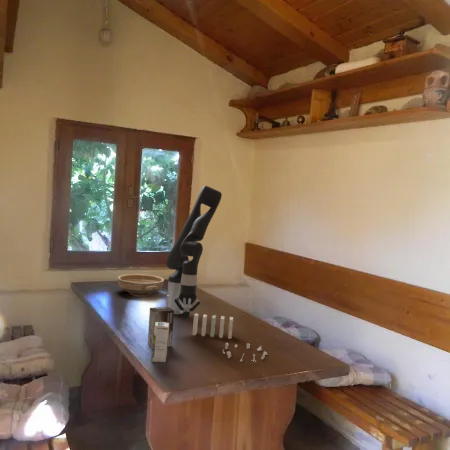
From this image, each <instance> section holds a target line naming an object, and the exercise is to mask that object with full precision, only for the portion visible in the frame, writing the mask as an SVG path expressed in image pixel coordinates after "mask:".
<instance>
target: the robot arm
mask: <svg viewBox="0 0 450 450" xmlns="http://www.w3.org/2000/svg"><path fill="white" fill-rule="evenodd" d="M222 196H223V195H222V192H221V191H219V190H217V189H215V188H213V187H211V186H208V185H204V186H203V187H202V188H201V189H200V191H199V193H198V195H197V198H196V200H195V202H194V206H193V208H192V210H191V212H190V213H189V215H188V218H187V219H186V221H185V223H184V225H183V226H182V229H181V232H180V234H179V236H178V238H177V240H176V242H175V244H174V245H173V246H172V248H171V250H170V251H169V252H168V255H167V256H166V257H167V258H166V266H167V268H168V269H170V270H174V271H173V273H171V274H170V275H169V276H168V281H167V282H168V283H167V293H166V300H165V307H170V308H171V309H173V310H174V315H182V314H183V316H182V317H183V319H184V320H185V321H188V319H190V317H191V316H190V315H191V314H190V313H191V312H194V311H195V309H196V308H197V307H198V306H199V305H200V304H201V300H199V299H198V298H197V286H198V284H197V283H198V266H199V263H200V259H201V256H202V254H203V250H204V249H203V248H204V247H203V244H202V242H201V241H203V239H204V237H205V235H206V232H207V229H208V226H209V225H210V223H211V220H213V217H214V215H215V213H216V211H217V209H218V206H220V203H221V199H222ZM202 204H203V205H205V206H207V207H209V209H208V210H207V211H206V212H205V213H203V214H202V213H201V207H202ZM189 257H192V259H191V260H190V259H189ZM194 302H195V303H194ZM193 304H194V305H193ZM192 305H193V306H192Z"/></svg>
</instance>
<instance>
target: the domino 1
mask: <svg viewBox="0 0 450 450" xmlns="http://www.w3.org/2000/svg"><path fill="white" fill-rule="evenodd" d="M198 321H199V313H194V315H193V321H192V322H193V324H192V325H193V326H192V336H197V334H198V324H199V322H198Z"/></svg>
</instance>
